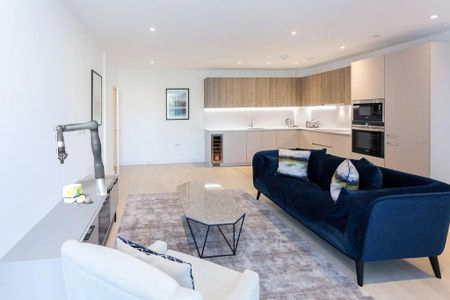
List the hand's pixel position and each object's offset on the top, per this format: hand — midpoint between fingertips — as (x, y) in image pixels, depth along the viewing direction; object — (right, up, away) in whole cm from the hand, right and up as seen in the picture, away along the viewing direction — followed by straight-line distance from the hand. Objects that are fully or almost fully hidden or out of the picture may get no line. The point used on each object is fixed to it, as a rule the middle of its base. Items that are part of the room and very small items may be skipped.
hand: (62, 163), depth 346 cm
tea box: (+12, -35, -2) cm, 37 cm away
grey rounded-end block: (+32, -36, -17) cm, 51 cm away
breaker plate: (+24, -36, -13) cm, 45 cm away
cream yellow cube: (+23, -33, -9) cm, 41 cm away
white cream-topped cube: (+24, -34, -18) cm, 45 cm away
